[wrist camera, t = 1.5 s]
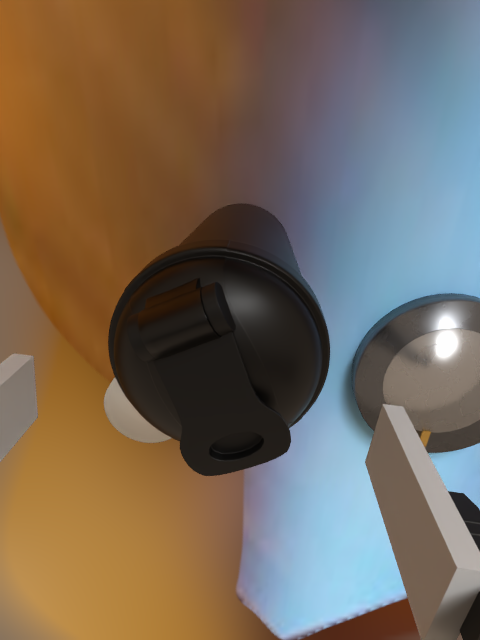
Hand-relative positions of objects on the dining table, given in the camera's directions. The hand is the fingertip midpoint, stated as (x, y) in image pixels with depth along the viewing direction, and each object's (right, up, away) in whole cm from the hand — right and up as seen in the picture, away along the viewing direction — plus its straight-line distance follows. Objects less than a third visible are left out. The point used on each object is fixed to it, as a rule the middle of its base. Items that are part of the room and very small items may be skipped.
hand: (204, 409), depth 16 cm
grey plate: (+20, -2, +25) cm, 32 cm away
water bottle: (+2, +9, +22) cm, 24 cm away
